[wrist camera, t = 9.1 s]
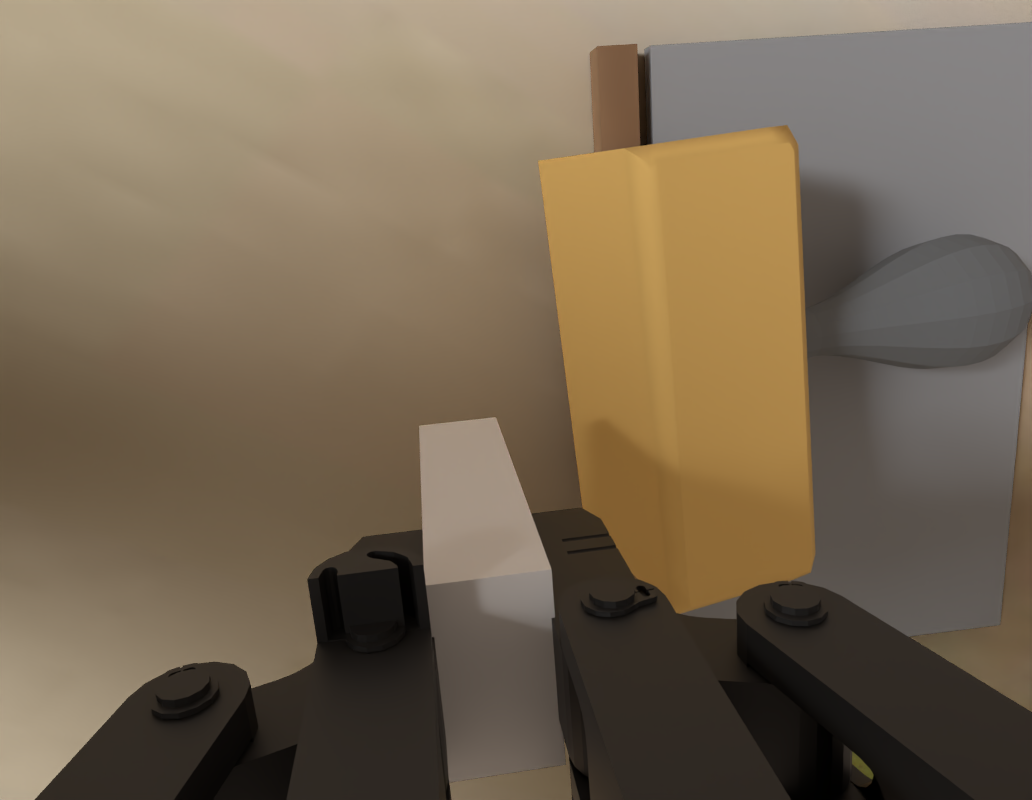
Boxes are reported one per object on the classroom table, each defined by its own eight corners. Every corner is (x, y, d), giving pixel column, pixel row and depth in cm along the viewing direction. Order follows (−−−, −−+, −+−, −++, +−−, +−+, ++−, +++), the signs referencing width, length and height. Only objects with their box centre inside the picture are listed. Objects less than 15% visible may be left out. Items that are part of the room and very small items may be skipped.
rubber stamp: (580, 524, 23) (932, 432, 26) (677, 624, 18) (1107, 493, 20) (534, 161, 20) (932, 103, 23) (631, 147, 15) (1135, 73, 18)
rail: (617, 661, 26) (624, 680, 25) (589, 52, 21) (597, 46, 20) (648, 657, 26) (656, 676, 25) (627, 50, 21) (637, 43, 20)
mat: (662, 656, 26) (667, 667, 25) (644, 49, 21) (650, 45, 21) (987, 615, 27) (1000, 625, 26) (1039, 25, 22) (1055, 20, 22)
